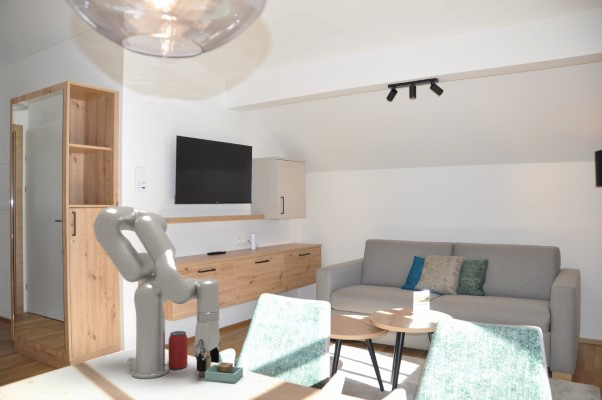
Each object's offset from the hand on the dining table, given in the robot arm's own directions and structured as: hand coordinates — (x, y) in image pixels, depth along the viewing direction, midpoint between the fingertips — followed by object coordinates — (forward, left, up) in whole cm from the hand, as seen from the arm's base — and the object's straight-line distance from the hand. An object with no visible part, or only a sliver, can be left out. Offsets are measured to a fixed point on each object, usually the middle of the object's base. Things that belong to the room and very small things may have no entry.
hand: (208, 366), depth 165 cm
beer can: (-14, +5, -3) cm, 15 cm away
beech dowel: (-1, 0, -3) cm, 3 cm away
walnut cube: (+9, -2, 0) cm, 9 cm away
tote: (+7, -2, -3) cm, 7 cm away
